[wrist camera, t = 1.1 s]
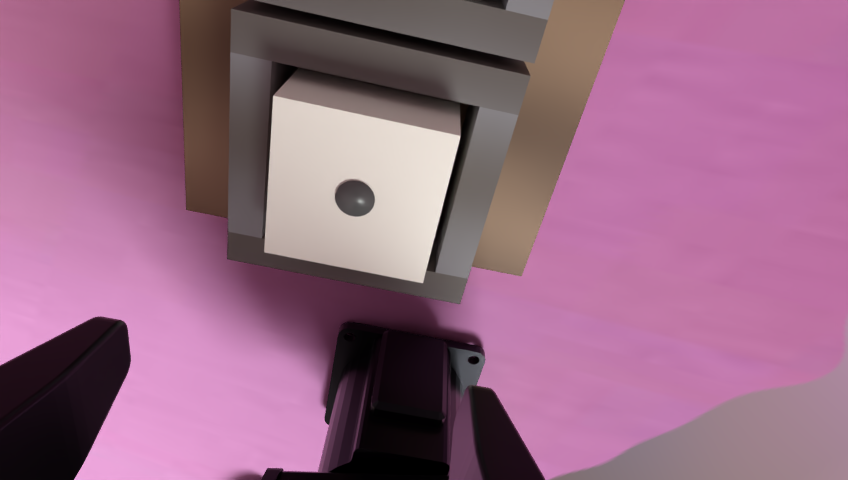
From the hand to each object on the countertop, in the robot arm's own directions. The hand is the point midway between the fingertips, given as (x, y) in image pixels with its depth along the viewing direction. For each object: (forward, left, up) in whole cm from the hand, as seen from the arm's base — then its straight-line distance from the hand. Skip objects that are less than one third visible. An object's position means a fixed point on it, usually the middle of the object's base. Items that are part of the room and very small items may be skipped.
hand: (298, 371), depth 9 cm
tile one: (0, 0, -8) cm, 8 cm away
